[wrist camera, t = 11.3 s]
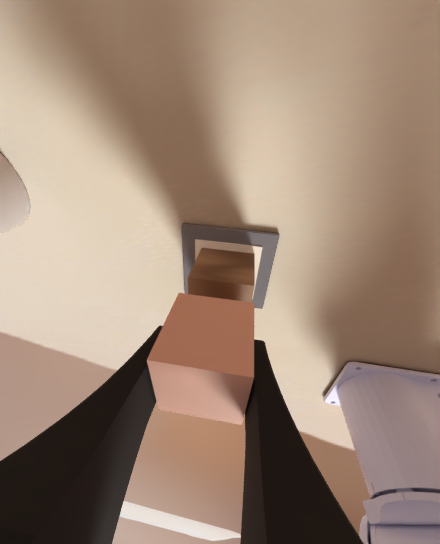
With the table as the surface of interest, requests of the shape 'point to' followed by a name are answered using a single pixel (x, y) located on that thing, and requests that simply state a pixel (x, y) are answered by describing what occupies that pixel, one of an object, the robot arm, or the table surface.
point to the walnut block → (223, 275)
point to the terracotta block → (205, 358)
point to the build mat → (232, 241)
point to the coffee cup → (12, 197)
